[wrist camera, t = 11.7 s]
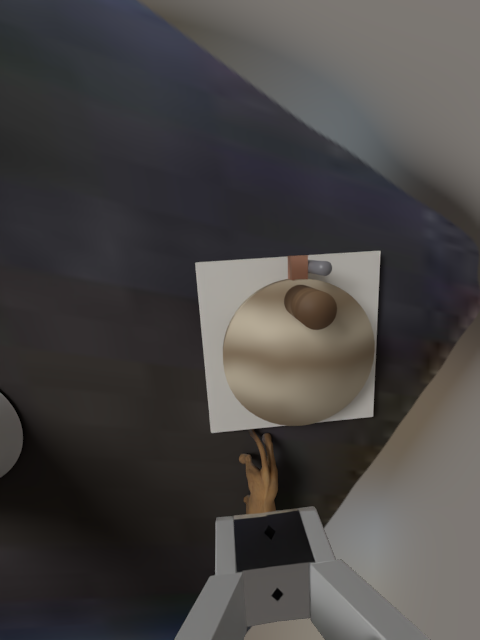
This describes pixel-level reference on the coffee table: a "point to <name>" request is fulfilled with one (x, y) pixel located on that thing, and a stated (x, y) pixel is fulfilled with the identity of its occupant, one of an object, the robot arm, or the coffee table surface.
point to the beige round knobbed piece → (298, 349)
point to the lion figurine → (261, 478)
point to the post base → (244, 280)
